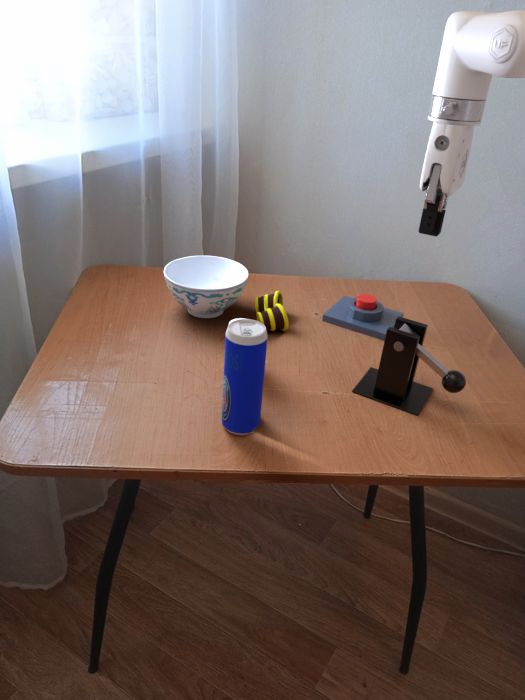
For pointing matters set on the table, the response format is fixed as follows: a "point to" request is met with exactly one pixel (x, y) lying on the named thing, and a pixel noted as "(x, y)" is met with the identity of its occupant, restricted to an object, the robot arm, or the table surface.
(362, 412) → the table surface
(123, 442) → the table surface
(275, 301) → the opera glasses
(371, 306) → the button
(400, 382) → the switch bracket
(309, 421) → the table surface
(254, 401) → the beverage can
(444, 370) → the switch lever
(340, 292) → the table surface
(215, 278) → the chinaware
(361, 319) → the switch box
